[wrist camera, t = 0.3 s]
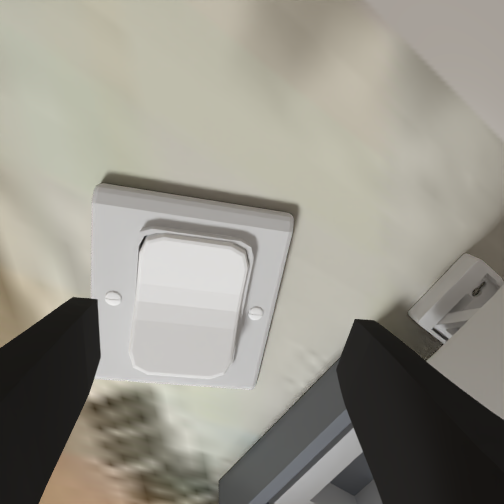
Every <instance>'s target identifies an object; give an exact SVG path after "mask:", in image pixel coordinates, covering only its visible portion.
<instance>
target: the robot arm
mask: <svg viewBox="0 0 504 504" xmlns="http://www.w3.org/2000/svg"><path fill="white" fill-rule="evenodd" d="M100 359H101V350H100V333H99V316H98V299H89V298H77V297H72V298H71V299H69V300H68V301H66V302H65V303H64V304H62V305H61V306H59V307H58V308H57V309H55V310H54V311H52V312H51V313H50V314H48V315H47V316H45V317H44V318H43V319H41V320H40V321H38V322H37V323H36V324H34V325H33V326H31V327H30V328H29V329H27V330H26V331H24V332H23V333H21V334H20V335H18V336H17V337H16V338H14V339H13V340H11V341H10V342H8V343H7V344H5V345H4V346H3V347H1V348H0V504H39V501H40V499H41V497H42V494H43V492H44V490H45V487H46V485H47V483H48V481H49V479H50V477H51V475H52V472H53V470H54V468H55V466H56V464H57V462H58V460H59V457H60V455H61V453H62V451H63V449H64V447H65V445H66V443H67V440H68V438H69V436H70V434H71V432H72V430H73V428H74V425H75V423H76V421H77V419H78V417H79V415H80V412H81V410H82V408H83V406H84V404H85V402H86V399H87V397H88V395H89V392H90V389H91V386H92V383H93V381H94V378H95V374H96V371H97V368H98V365H99V362H100ZM336 372H337V376H338V381H339V385H340V389H341V393H342V397H343V400H344V404H345V407H346V409H347V412H348V415H349V417H350V420H351V422H352V425H353V428H354V430H355V433H356V435H357V438H358V441H359V443H360V446H361V448H362V451H363V453H364V456H365V458H366V461H367V463H368V466H369V469H370V471H371V474H372V476H373V479H374V481H375V484H376V486H377V489H378V492H379V495H380V498H381V501H382V504H504V420H503V419H502V418H500V417H499V416H498V415H496V414H495V413H493V412H492V411H490V410H489V409H488V408H486V407H485V406H483V405H482V404H481V403H479V402H478V401H477V400H475V399H474V398H473V397H471V396H470V395H469V394H467V393H466V392H465V391H463V390H462V389H461V388H459V387H458V386H457V385H455V384H454V383H453V382H451V381H450V380H449V379H448V378H446V377H445V376H444V375H443V374H441V373H440V372H439V371H437V370H436V369H435V368H434V367H432V366H431V365H430V364H429V363H428V362H426V361H425V360H424V359H423V358H421V357H420V356H419V355H418V354H416V353H415V352H414V351H413V350H412V349H410V348H409V347H408V346H407V345H405V344H404V343H403V342H402V341H400V340H399V339H398V338H397V337H396V336H394V335H393V334H392V333H390V332H389V331H388V330H387V329H385V328H384V327H383V326H381V325H380V324H379V323H377V322H376V321H374V320H361V319H355V320H354V323H353V326H352V328H351V331H350V334H349V336H348V339H347V342H346V344H345V347H344V350H343V352H342V355H341V358H340V360H339V363H338V365H337V368H336Z"/></svg>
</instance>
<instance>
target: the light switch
mask: <svg viewBox="0 0 504 504" xmlns="http://www.w3.org/2000/svg"><path fill="white" fill-rule="evenodd" d="M293 227H294V218H293V216H292V215H291V214H290V213H287V212H281V211H275V210H269V209H262V208H256V207H250V206H243V205H237V204H231V203H225V202H218V201H212V200H206V199H200V198H193V197H187V196H181V195H174V194H168V193H162V192H156V191H149V190H143V189H137V188H131V187H124V186H118V185H112V184H106V183H102V184H98V185H96V187H95V189H94V192H93V197H92V234H91V299H98V316H99V333H100V350H101V359H100V362H99V365H98V368H97V371H96V374H95V379H104V380H118V381H132V382H147V383H161V384H175V385H190V386H204V387H219V388H234V389H248V390H250V389H253V388H254V387H255V386H256V383H257V379H258V375H259V370H260V366H261V362H262V358H263V354H264V350H265V345H266V341H267V337H268V333H269V329H270V325H271V321H272V316H273V312H274V308H275V304H276V300H277V296H278V292H279V287H280V283H281V279H282V275H283V271H284V267H285V263H286V258H287V254H288V250H289V246H290V242H291V238H292V233H293ZM144 236H145V237H144ZM143 238H144V240H143ZM142 240H143V243H142ZM141 245H142V246H141Z"/></svg>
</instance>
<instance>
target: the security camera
mask: <svg viewBox="0 0 504 504" xmlns="http://www.w3.org/2000/svg"><path fill="white" fill-rule="evenodd" d="M502 280H503V279H502V278H501V277H500V276H499V275H498V274H497V273H496V272H495V271H494V270H493V269H492V268H491V267H490V266H489V265H488V264H486V263H485V262H484V261H483V260H481V259H479V258H477V257H475V256H472V255H470V254H468V253H465V254H463V255H462V256H461V257H460V258H459V259H458V260H457V261H456V262H455V263H454V264H453V265H452V266H451V268H450V269H449V270H448V271H447V272H446V273H445V274H444V275H443V276H442V277H441V278H440V279H439V280H438V281H437V282H436V283H435V284H434V285H433V286H432V287H431V288H430V289H429V290H428V291H427V292H426V294H425V295H424V296H423V297H422V298H421V299H420V300H419V301H418V302H417V303H416V304H415V305H414V306H413V307H412V308H411V309H410V310H409V312H408V315H409V316H410V317H411V318H412V319H413V320H414V321H416V322H417V323H418V324H419V325H420V326H421V327H423V328H424V329H425V330H427V331H428V332H429V333H430V334H432V335H433V336H434V337H436V338H437V339H438V340H439V341H441V342H442V343H443V344H444V345H443V346H442V347H441V348H440V349H439V350H438V351H437V352H436V353H435V354H434V355H433V356H431V357H430V358H429V359H428V360H427V361H426V362H428V363H429V364H430V365H431V366H432V367H434V368H435V369H436V370H437V371H439V372H440V373H441V374H443V375H444V376H445V377H446V378H448V379H449V380H450V381H451V382H453V383H454V384H455V385H457V386H458V387H459V388H461V389H462V390H463V391H465V392H466V393H467V394H469V395H470V396H471V397H473V398H474V399H475V400H477V401H478V402H479V403H481V404H482V405H483V406H485V407H486V408H488V409H489V410H490V411H492V412H493V413H495V414H496V415H498V416H499V417H500V418H502V419H503V420H504V282H503V281H502ZM483 282H485V284H484V285H483V286H482V287H481V288H480V291H479V293H478V294H477V295H475V296H473V295H472V292H473V290H474V289H475V288H477V287H479V286H480V285H481V284H482V283H483Z"/></svg>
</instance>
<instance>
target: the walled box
mask: <svg viewBox="0 0 504 504" xmlns="http://www.w3.org/2000/svg"><path fill="white" fill-rule="evenodd" d="M340 358H341V357H340ZM340 358H339V360H340ZM339 360H338V361H337V362H336V363H335V364H334V365H333V366H332V367H331V368H330V369H329V370H328V371H327V372H326V373H325V374H324V375H323V376H322V377H321V378H320V379H319V380H318V381H317V382H316V383H315V384H314V385H313V386H312V387H311V388H310V389H309V390H308V391H307V392H306V393H305V394H304V395H303V396H302V397H301V398H300V399H299V400H298V401H297V402H296V403H295V404H294V405H293V406H292V407H291V408H290V409H289V410H288V411H287V412H286V413H285V414H284V415H283V416H282V417H281V418H280V419H279V420H278V421H277V423H276V424H275V425H274V426H273V427H272V428H271V429H270V430H269V431H268V432H267V433H266V434H265V435H264V436H263V437H262V438H261V439H260V440H259V441H258V442H257V443H256V444H255V445H254V446H253V447H252V448H251V449H250V450H249V451H248V452H247V453H246V454H245V455H244V456H243V457H242V458H241V459H240V460H239V461H238V462H237V463H236V464H235V465H234V466H233V467H232V468H231V469H230V470H229V471H228V472H227V473H226V474H225V475H224V476H223V477H222V478H221V479H220V480H219V504H382V501H381V498H380V495H379V492H378V489H377V486H376V484H375V481H374V479H373V476H372V474H371V471H370V469H369V466H368V463H367V461H366V458H365V456H364V453H363V451H362V448H361V446H360V443H359V441H358V438H357V435H356V433H355V430H354V428H353V425H352V422H351V420H350V417H349V415H348V412H347V409H346V407H345V404H344V400H343V397H342V393H341V389H340V385H339V381H338V376H337V372H336V368H337V365H338V363H339Z"/></svg>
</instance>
